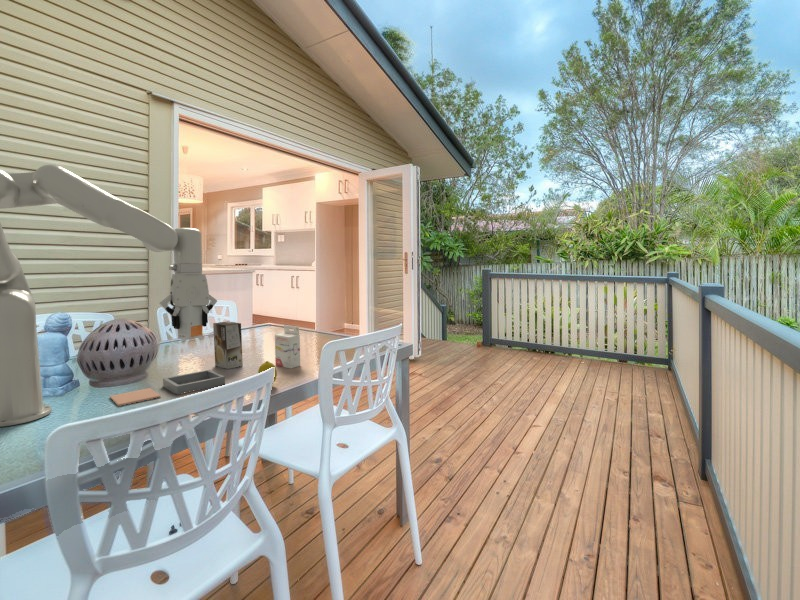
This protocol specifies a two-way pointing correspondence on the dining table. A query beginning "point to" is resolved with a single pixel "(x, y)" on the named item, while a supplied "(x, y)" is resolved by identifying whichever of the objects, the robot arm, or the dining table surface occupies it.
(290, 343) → the ink cartridge box
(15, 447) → the dining table surface
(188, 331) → the skincare box
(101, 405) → the dining table surface
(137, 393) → the tile
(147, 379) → the dining table surface
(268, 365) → the lemon
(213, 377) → the tray
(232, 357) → the coffee box
